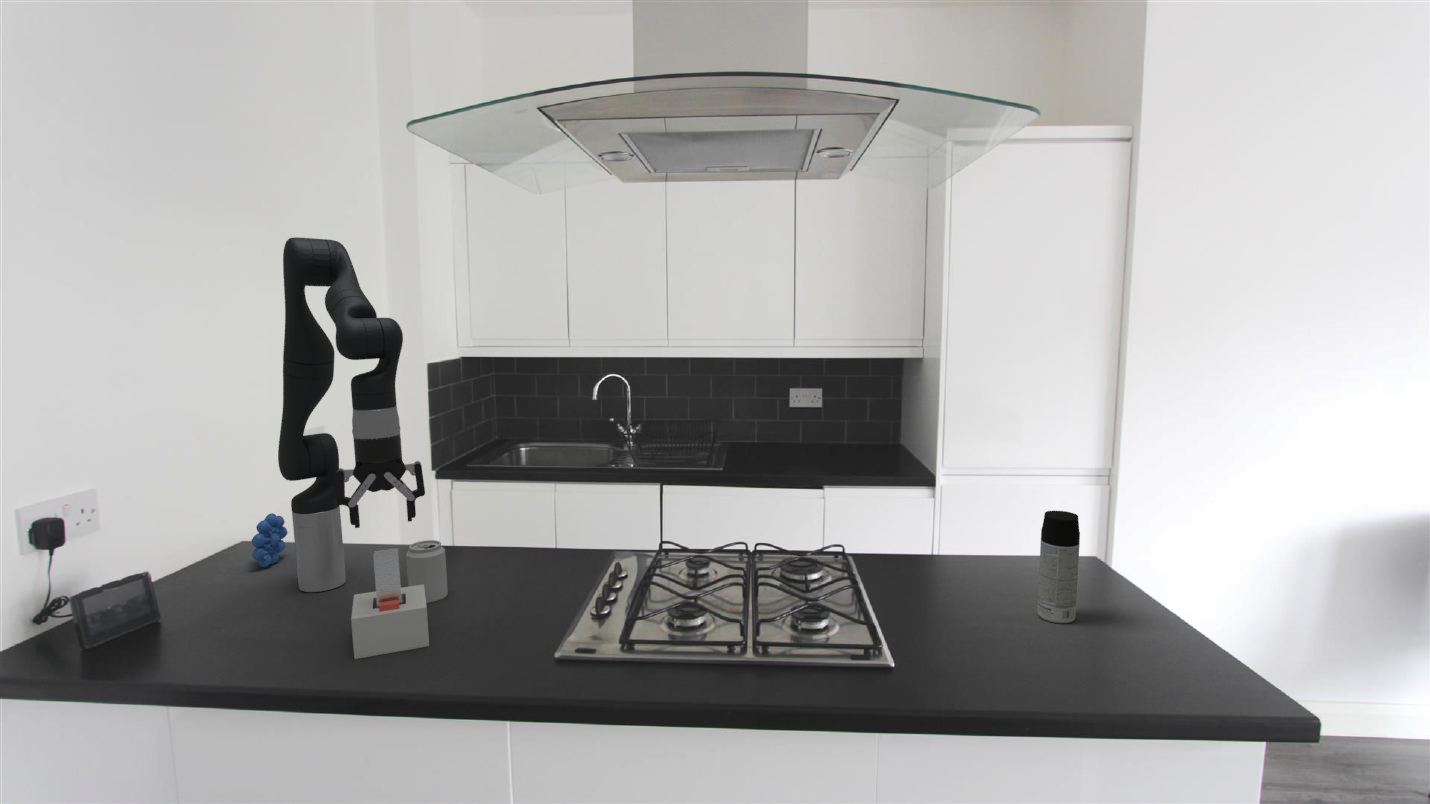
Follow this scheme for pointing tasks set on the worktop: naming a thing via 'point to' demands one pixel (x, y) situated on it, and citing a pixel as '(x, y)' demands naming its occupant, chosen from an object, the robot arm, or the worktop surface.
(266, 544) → the grapes
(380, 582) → the column
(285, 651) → the worktop surface
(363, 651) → the stand base
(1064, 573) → the spray can
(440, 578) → the can
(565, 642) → the worktop surface
